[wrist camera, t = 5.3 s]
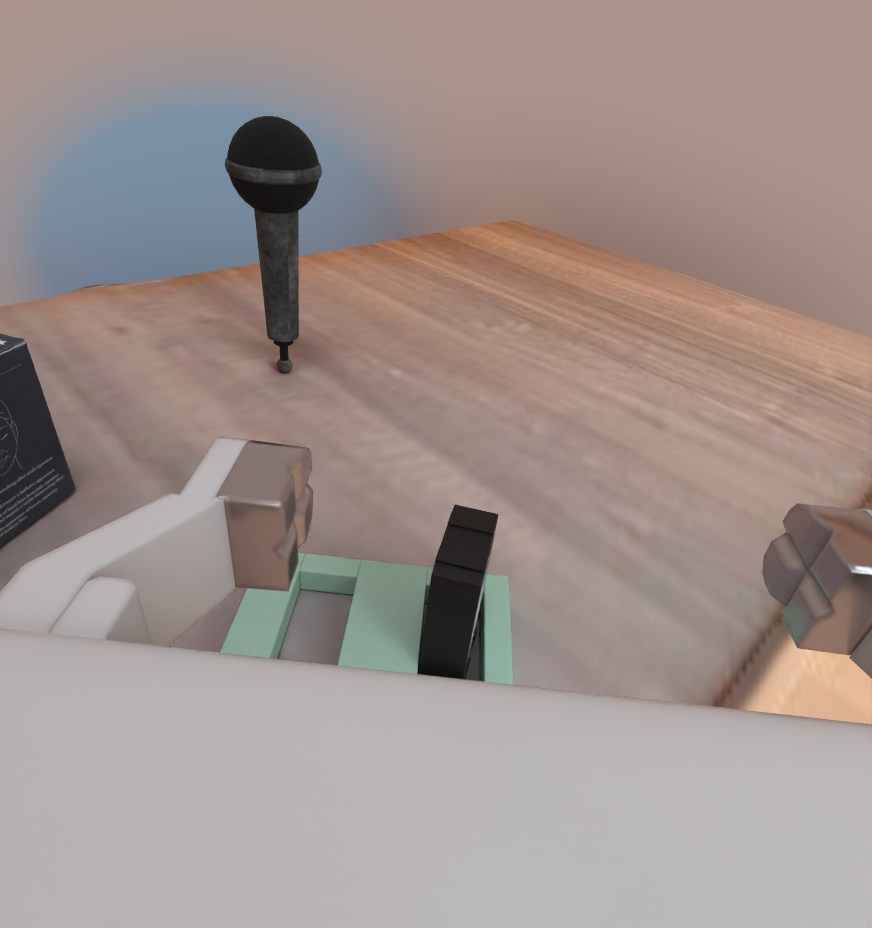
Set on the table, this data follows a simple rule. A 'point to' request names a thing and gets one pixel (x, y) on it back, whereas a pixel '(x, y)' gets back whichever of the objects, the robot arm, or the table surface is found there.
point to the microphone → (276, 212)
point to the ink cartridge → (457, 593)
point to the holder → (371, 615)
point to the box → (26, 444)
